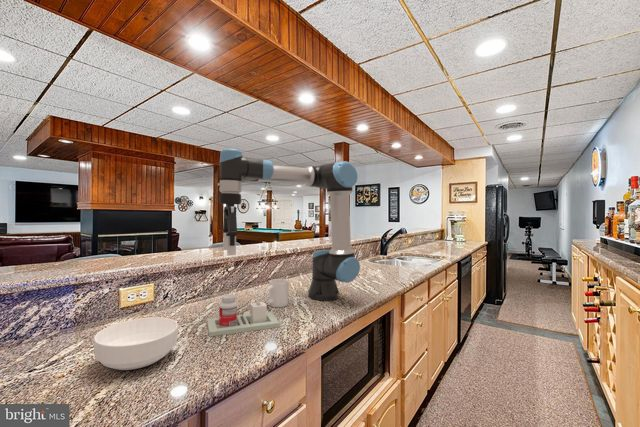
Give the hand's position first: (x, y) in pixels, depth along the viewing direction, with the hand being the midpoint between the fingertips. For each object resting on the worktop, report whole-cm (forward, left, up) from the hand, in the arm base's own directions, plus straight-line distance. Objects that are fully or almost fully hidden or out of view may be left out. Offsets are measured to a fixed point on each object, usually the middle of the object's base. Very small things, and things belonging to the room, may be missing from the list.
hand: (229, 252), depth 106 cm
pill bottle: (0, 0, -27) cm, 27 cm away
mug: (-23, -18, -27) cm, 39 cm away
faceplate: (-6, 0, -27) cm, 27 cm away
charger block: (-11, 0, -27) cm, 29 cm away
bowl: (+25, +16, -27) cm, 40 cm away
